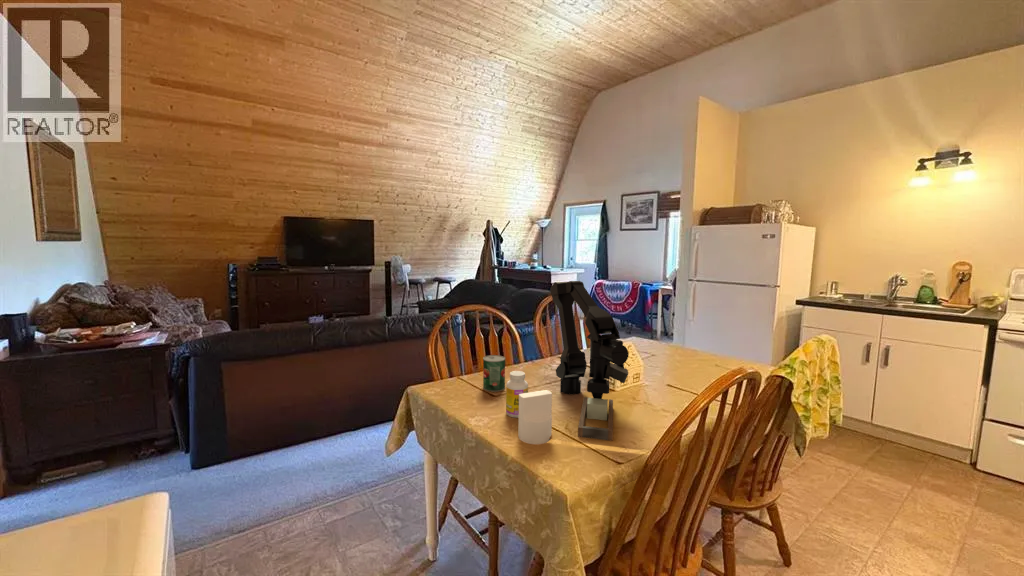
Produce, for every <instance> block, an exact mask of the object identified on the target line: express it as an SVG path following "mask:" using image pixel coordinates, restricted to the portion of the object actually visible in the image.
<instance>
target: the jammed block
mask: <svg viewBox="0 0 1024 576" xmlns="http://www.w3.org/2000/svg"><path fill="white" fill-rule="evenodd" d="M608 407H609V399H607V398H602V399H597V398H593V397H588V402H587V411H586V419H589V420H601V421H608Z"/></svg>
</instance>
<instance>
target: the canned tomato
mask: <svg viewBox="0 0 1024 576" xmlns="http://www.w3.org/2000/svg"><path fill="white" fill-rule="evenodd" d="M482 361H483V362H482V364H483V365H482V366H483V368H482V370H483V371H482V374H483V376H482V377H483V378H482V380H483V382H482V383H483V384H482V385H483V386H482V387H483V390H484V391H486V392H490V391H491V392H493V393H495V392H502V391H504V390H505V389H506V357H505V356H502V355H498V354H497V355H496V354H491V355H490V354H489V355H485V356H483V357H482Z"/></svg>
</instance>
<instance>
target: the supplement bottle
mask: <svg viewBox="0 0 1024 576" xmlns="http://www.w3.org/2000/svg"><path fill="white" fill-rule="evenodd" d="M525 378H526V373H525V372H524V371H522V370H513V371H510V372H509V380H508V381H506V383H505V389H506V391H505V392H506V393H505V397H506V398H505V413H506V415H507V416H508V417H511V418H518V419H519V394H522V393H529V383H528V382H527V381H526V380H525Z"/></svg>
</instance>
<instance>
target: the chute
mask: <svg viewBox="0 0 1024 576" xmlns="http://www.w3.org/2000/svg"><path fill="white" fill-rule="evenodd" d="M588 398H589V397H588V396H584V397H583V400H582V403H581V404H582V405H581V410H580V415H579V420H578V421H579V422H578V425H577V437H578V438H584V439H585V438H586V439H595V440H600V441H601V440H603V441H609V442H611V441H613V438H614V437H613V435H614V434H613V433H614V400H613V399H608V415H607V421H608V422H607V424H608V425H607V426H608V427H607V428H605V427H595V426H586V425H585V423H586V419H587V402H588Z"/></svg>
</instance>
